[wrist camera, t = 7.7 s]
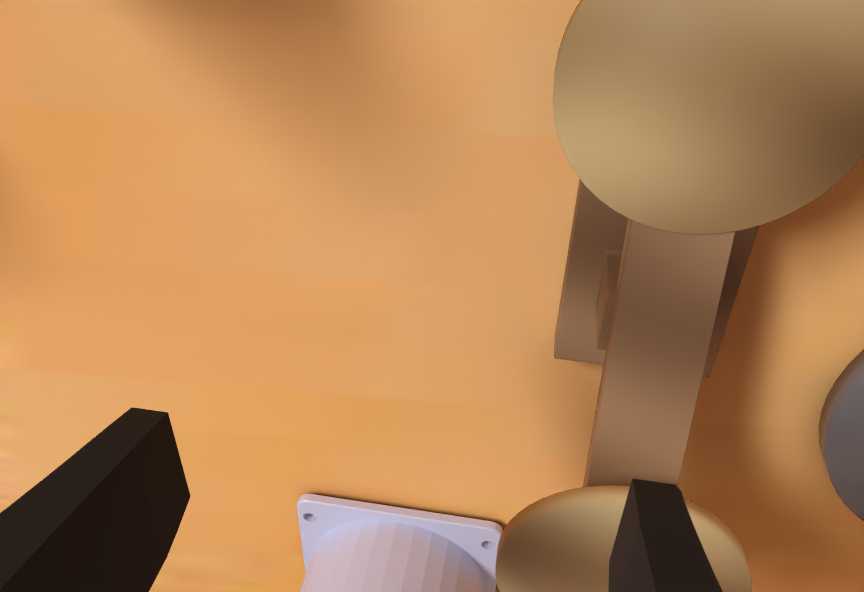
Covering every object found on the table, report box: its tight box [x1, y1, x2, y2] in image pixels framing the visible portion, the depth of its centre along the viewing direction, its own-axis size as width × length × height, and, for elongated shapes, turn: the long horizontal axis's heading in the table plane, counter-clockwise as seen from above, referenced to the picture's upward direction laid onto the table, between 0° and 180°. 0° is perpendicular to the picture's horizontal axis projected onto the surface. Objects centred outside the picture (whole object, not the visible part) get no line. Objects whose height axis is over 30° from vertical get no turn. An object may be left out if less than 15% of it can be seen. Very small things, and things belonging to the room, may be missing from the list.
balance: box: [495, 0, 864, 592], centre depth 18 cm, size 18×6×6 cm, turn 179°
